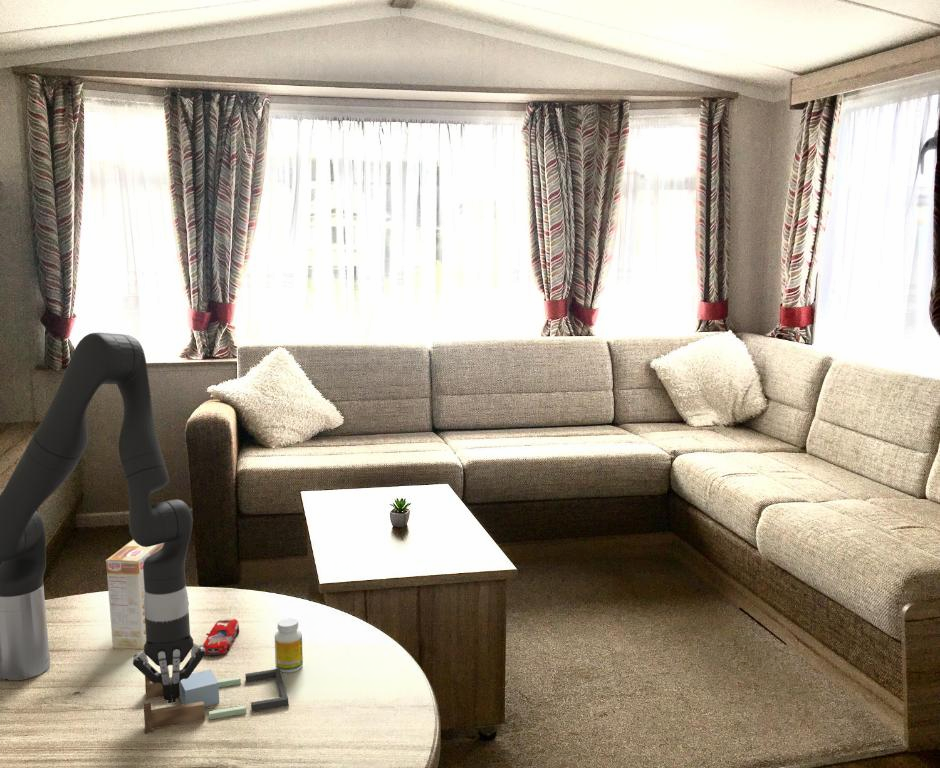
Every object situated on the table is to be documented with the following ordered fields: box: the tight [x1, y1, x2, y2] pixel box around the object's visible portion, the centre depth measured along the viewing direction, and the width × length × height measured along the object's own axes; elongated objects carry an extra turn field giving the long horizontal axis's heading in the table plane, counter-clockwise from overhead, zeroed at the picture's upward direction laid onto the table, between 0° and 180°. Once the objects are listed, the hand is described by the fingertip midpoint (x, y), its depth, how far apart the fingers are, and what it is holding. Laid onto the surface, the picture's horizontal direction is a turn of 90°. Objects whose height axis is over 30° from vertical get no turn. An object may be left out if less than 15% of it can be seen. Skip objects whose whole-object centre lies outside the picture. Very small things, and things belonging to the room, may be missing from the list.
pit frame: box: [244, 668, 290, 713], centre depth 171 cm, size 7×12×1 cm, turn 19°
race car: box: [202, 618, 240, 656], centre depth 192 cm, size 13×5×4 cm, turn 179°
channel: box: [143, 675, 206, 734], centre depth 165 cm, size 10×15×5 cm
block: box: [179, 669, 220, 707], centre depth 168 cm, size 6×6×4 cm
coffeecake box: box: [105, 539, 164, 650], centre depth 195 cm, size 15×7×20 cm, turn 175°
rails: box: [208, 676, 247, 720], centre depth 169 cm, size 6×12×1 cm, turn 19°
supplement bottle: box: [274, 617, 304, 674], centre depth 180 cm, size 5×5×10 cm
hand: (172, 700), depth 165 cm, fingers closed
